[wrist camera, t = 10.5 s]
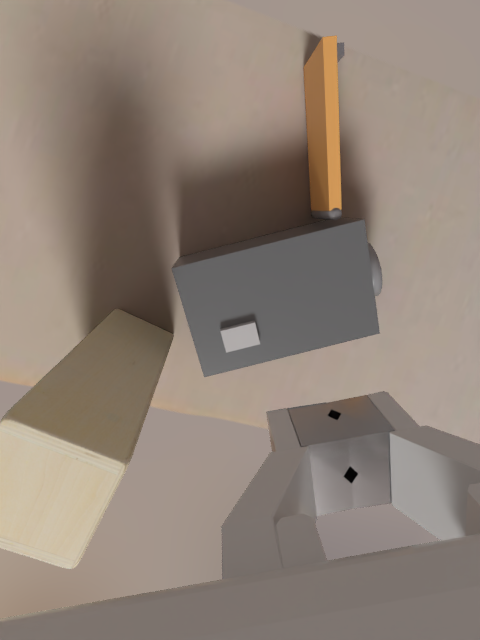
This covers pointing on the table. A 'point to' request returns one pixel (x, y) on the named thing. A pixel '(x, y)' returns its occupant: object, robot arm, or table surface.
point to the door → (324, 128)
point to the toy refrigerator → (76, 439)
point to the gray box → (280, 294)
